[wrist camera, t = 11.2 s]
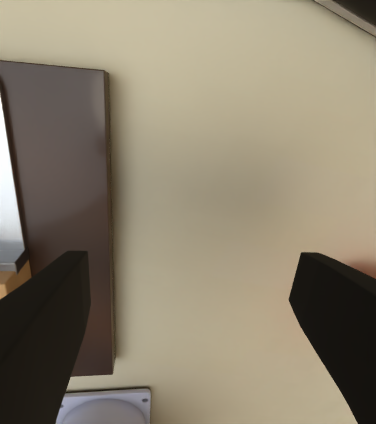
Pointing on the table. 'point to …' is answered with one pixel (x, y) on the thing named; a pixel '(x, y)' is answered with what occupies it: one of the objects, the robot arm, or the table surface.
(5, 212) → the knife
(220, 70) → the table surface
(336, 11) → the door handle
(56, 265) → the robot arm
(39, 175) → the board
